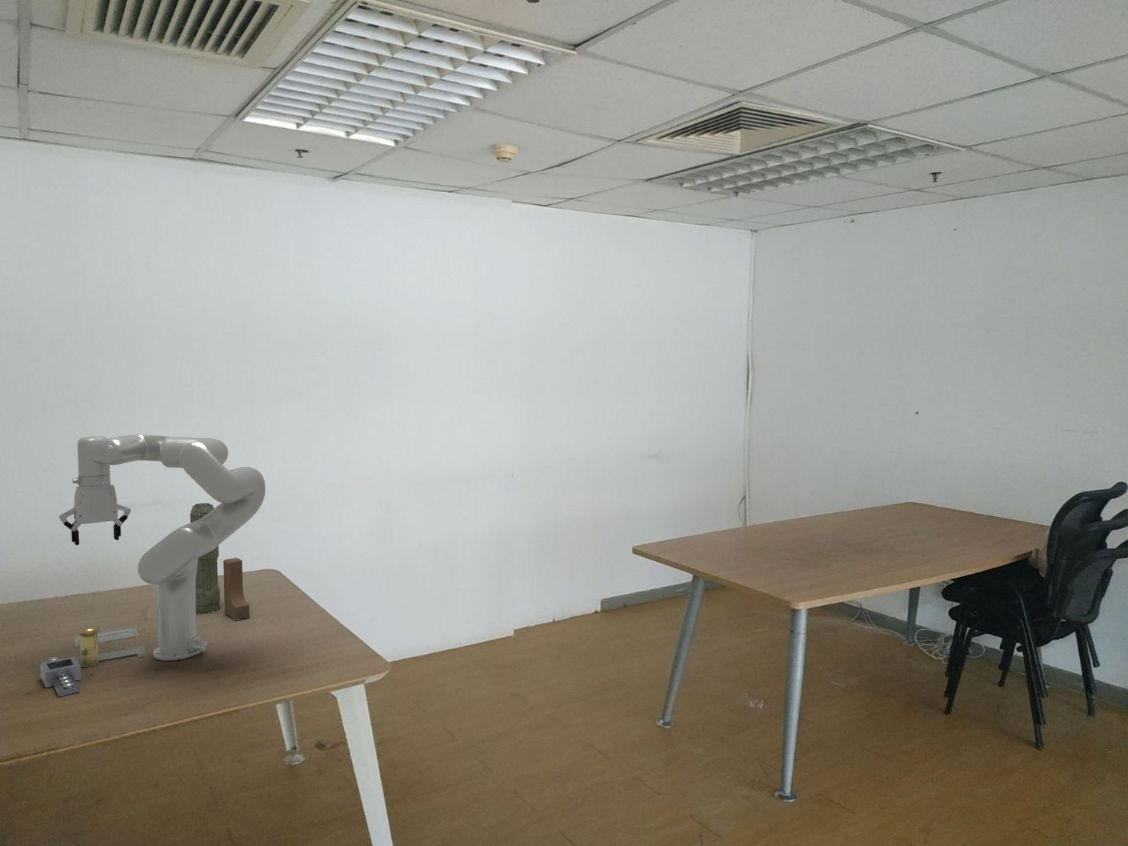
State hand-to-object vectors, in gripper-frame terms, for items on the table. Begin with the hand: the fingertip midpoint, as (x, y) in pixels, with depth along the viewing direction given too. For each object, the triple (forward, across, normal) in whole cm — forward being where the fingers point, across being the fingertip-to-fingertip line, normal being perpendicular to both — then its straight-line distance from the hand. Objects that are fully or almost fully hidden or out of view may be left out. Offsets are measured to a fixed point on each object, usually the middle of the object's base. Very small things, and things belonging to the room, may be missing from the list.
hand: (96, 541), depth 215 cm
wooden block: (+31, +39, +5) cm, 50 cm away
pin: (+31, -4, -10) cm, 33 cm away
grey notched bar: (+31, -12, -16) cm, 37 cm away
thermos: (+31, +33, +18) cm, 49 cm away
